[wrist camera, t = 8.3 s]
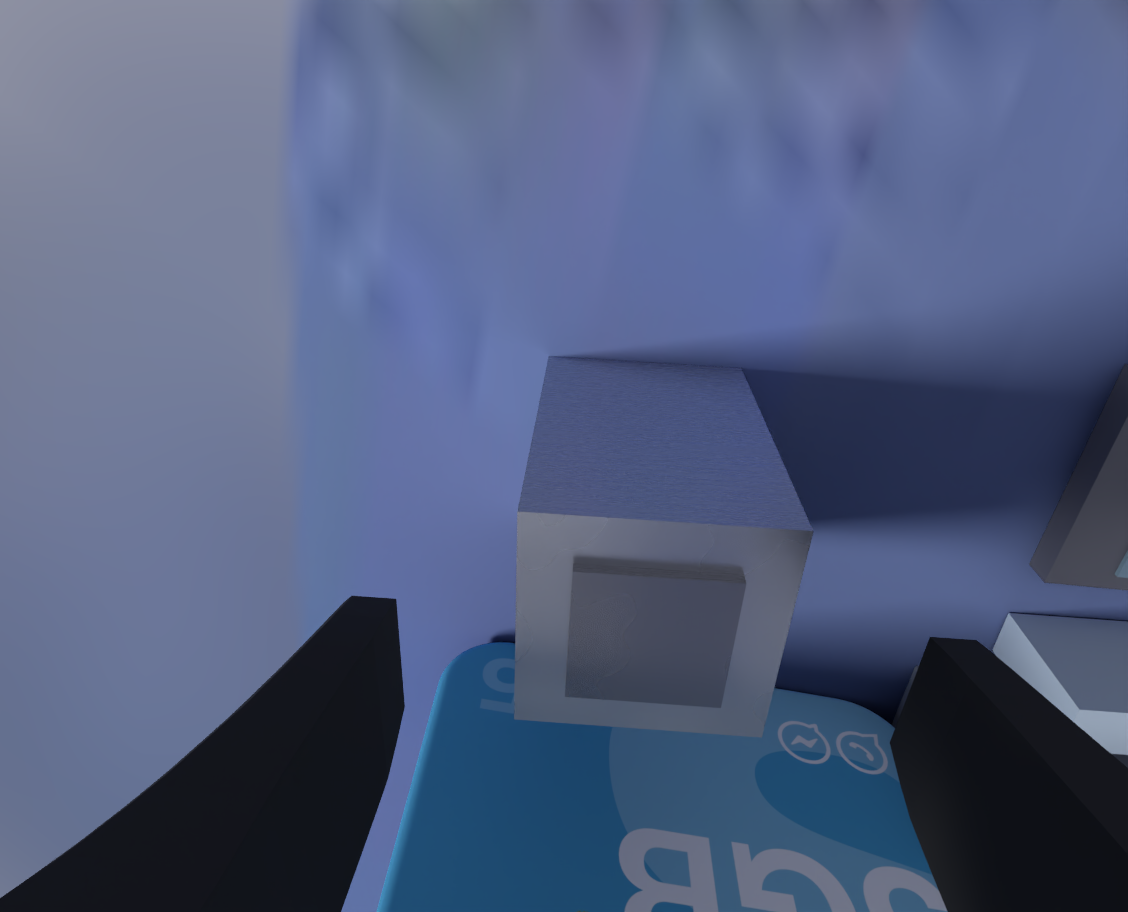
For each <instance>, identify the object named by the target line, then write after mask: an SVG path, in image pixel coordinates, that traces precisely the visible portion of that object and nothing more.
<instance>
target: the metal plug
mask: <svg viewBox="0 0 1128 912" xmlns="http://www.w3.org/2000/svg"><path fill="white" fill-rule="evenodd" d="M812 535H813V529H812V527H811V525H810V522H809V520H808V518H807V516H806V513H805V511H804V509H803V506H802V504H801V502H800V500H799V497H798V495H797V493H796V491H795V488H794V486H793V484H792V482H791V479H790V477H789V475H788V473H787V470H786V468H785V466H784V464H783V461H782V459H781V457H780V454H779V452H778V450H777V448H776V445H775V443H774V441H773V439H772V436H771V434H770V432H769V430H768V427H767V425H766V423H765V421H764V418H763V416H762V414H761V412H760V409H759V407H758V405H757V403H756V400H755V398H754V396H753V393H752V391H751V389H750V387H749V384H748V382H747V380H746V378H745V375H744V373H743V371H742V369H741V368H731V367H714V366H698V365H681V364H664V363H648V362H631V361H615V360H598V359H581V358H565V357H548V362H547V367H546V372H545V377H544V382H543V387H542V392H541V397H540V402H539V407H538V412H537V417H536V422H535V427H534V432H533V437H532V442H531V447H530V452H529V457H528V462H527V467H526V472H525V477H524V482H523V487H522V492H521V497H520V502H519V507H518V512H517V571H516V630H515V689H514V719H515V720H529V721H542V722H556V723H570V724H583V725H597V726H611V727H624V728H638V729H651V730H665V731H679V732H692V733H706V734H720V735H733V736H747V737H761V738H762V735H763V731H764V727H765V723H766V719H767V715H768V711H769V707H770V703H771V699H772V695H773V691H774V687H775V683H776V679H777V675H778V671H779V667H780V663H781V659H782V655H783V651H784V647H785V643H786V639H787V635H788V631H789V627H790V623H791V619H792V615H793V611H794V607H795V603H796V599H797V595H798V591H799V587H800V583H801V579H802V575H803V571H804V567H805V563H806V559H807V555H808V551H809V547H810V543H811V539H812Z"/></svg>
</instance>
